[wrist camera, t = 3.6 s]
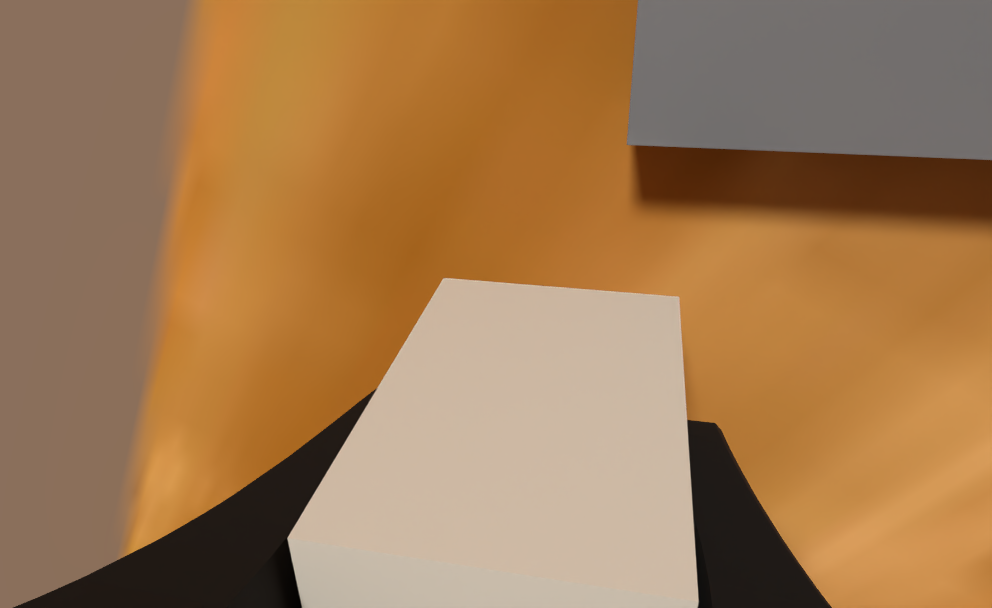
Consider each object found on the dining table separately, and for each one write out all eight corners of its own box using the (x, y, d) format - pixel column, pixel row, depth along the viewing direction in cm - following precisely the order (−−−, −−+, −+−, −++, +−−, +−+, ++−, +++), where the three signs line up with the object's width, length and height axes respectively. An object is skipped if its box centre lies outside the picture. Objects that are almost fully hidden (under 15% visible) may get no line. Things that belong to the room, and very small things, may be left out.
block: (679, 296, 11) (699, 601, 6) (655, 481, 13) (655, 833, 8) (443, 278, 12) (287, 538, 7) (452, 456, 14) (335, 763, 9)
